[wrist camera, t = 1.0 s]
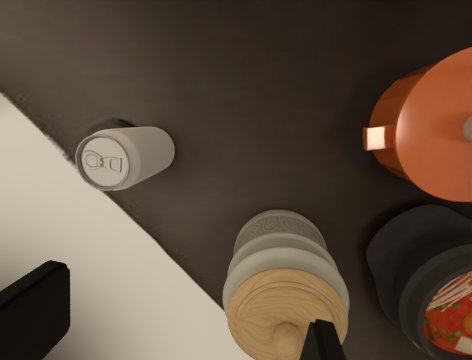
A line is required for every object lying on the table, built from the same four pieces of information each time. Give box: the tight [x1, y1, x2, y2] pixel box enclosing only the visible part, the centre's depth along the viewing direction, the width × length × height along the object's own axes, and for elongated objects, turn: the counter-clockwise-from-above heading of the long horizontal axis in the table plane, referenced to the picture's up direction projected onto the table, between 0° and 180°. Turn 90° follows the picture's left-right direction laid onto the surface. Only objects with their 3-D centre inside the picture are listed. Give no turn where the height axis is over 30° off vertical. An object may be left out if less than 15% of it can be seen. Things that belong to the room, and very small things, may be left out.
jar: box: [223, 209, 349, 360], centre depth 29 cm, size 13×13×18 cm
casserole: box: [366, 204, 472, 360], centre depth 32 cm, size 25×19×8 cm
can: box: [75, 127, 175, 191], centre depth 30 cm, size 6×6×12 cm
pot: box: [363, 63, 436, 182], centre depth 28 cm, size 14×19×8 cm
